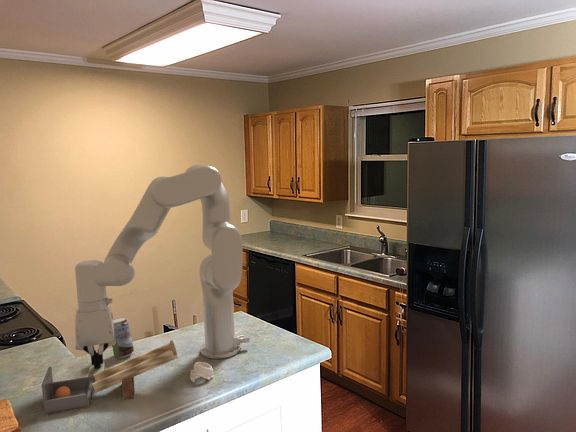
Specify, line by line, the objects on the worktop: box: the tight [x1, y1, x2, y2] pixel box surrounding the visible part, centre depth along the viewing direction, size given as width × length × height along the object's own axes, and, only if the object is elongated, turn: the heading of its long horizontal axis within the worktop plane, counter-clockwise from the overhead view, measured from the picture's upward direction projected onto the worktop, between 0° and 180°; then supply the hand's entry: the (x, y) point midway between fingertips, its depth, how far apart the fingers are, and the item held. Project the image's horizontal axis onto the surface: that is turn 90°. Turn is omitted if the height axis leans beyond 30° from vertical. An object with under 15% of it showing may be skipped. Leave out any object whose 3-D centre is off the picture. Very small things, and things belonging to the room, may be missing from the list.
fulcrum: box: [121, 377, 135, 401], centre depth 125 cm, size 3×10×5 cm, turn 18°
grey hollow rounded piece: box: [189, 361, 214, 383], centre depth 131 cm, size 8×7×5 cm
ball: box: [55, 386, 71, 399], centre depth 120 cm, size 4×4×4 cm
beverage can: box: [111, 317, 135, 359], centre depth 146 cm, size 6×7×12 cm
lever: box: [87, 339, 179, 394], centre depth 129 cm, size 24×17×4 cm
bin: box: [41, 366, 94, 416], centre depth 120 cm, size 10×10×8 cm
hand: (97, 366), depth 132 cm, fingers closed
